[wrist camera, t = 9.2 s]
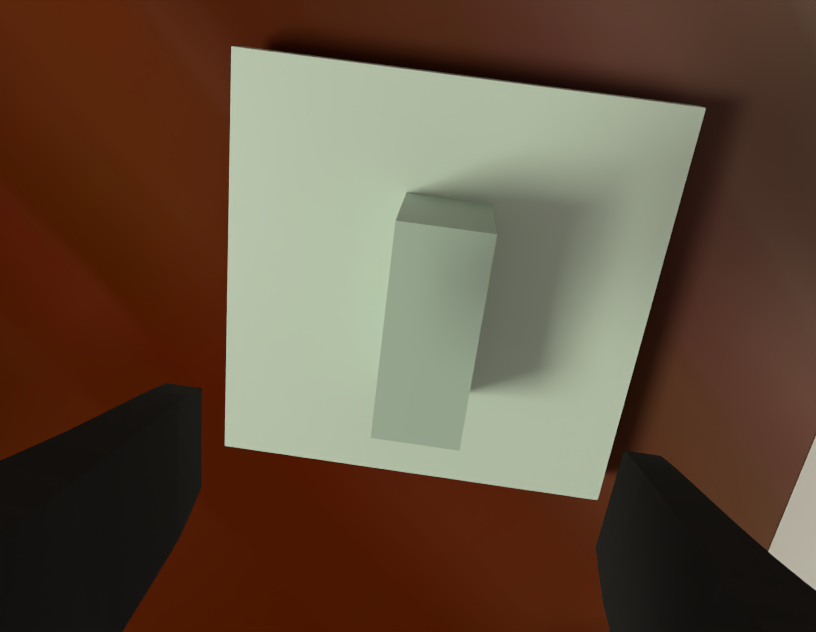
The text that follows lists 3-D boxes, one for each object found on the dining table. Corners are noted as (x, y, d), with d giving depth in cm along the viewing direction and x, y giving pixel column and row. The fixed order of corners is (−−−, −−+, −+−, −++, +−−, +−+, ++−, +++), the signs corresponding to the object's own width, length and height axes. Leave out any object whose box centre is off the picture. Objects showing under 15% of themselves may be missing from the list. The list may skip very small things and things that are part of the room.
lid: (587, 468, 24) (618, 571, 19) (241, 417, 24) (188, 507, 19) (684, 102, 19) (755, 121, 14) (251, 45, 19) (185, 47, 15)
